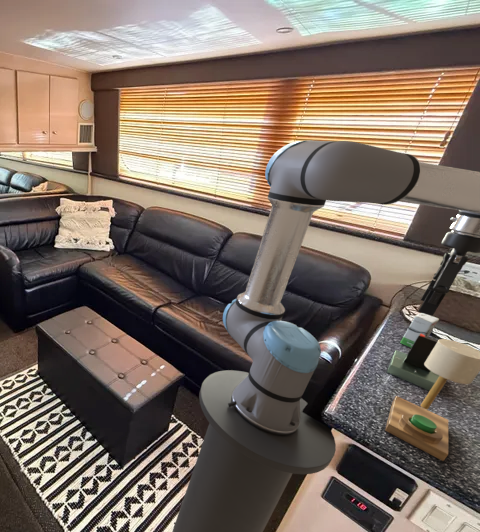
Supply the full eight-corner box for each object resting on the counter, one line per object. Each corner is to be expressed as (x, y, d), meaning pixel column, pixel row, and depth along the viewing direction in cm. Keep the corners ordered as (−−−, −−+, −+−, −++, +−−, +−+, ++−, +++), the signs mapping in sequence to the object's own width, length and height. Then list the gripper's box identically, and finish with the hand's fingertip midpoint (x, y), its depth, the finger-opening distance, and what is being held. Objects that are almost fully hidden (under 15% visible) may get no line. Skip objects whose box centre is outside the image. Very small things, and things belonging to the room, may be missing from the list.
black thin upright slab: (430, 370, 99) (447, 342, 95) (429, 372, 98) (447, 344, 94) (404, 359, 103) (419, 333, 99) (403, 361, 102) (419, 335, 98)
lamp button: (432, 436, 72) (436, 431, 72) (409, 424, 75) (412, 419, 74) (433, 428, 75) (437, 422, 74) (410, 417, 78) (413, 411, 77)
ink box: (416, 350, 115) (433, 322, 111) (399, 343, 119) (414, 315, 115) (424, 345, 120) (440, 318, 115) (406, 338, 124) (422, 311, 119)
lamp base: (443, 461, 71) (452, 448, 69) (384, 430, 77) (392, 418, 76) (444, 426, 81) (452, 414, 79) (392, 401, 88) (399, 390, 86)
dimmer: (435, 393, 93) (441, 385, 92) (386, 372, 101) (391, 364, 99) (436, 375, 102) (441, 367, 101) (391, 356, 110) (396, 349, 108)
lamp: (414, 413, 78) (453, 353, 72) (396, 391, 86) (430, 335, 79) (455, 424, 76) (499, 363, 70) (432, 401, 83) (470, 344, 77)
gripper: (447, 226, 91) (410, 292, 99) (448, 234, 75) (404, 312, 83) (487, 234, 86) (445, 302, 94) (497, 244, 70) (445, 326, 78)
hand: (426, 307), depth 88 cm, fingers open, 13 cm apart
